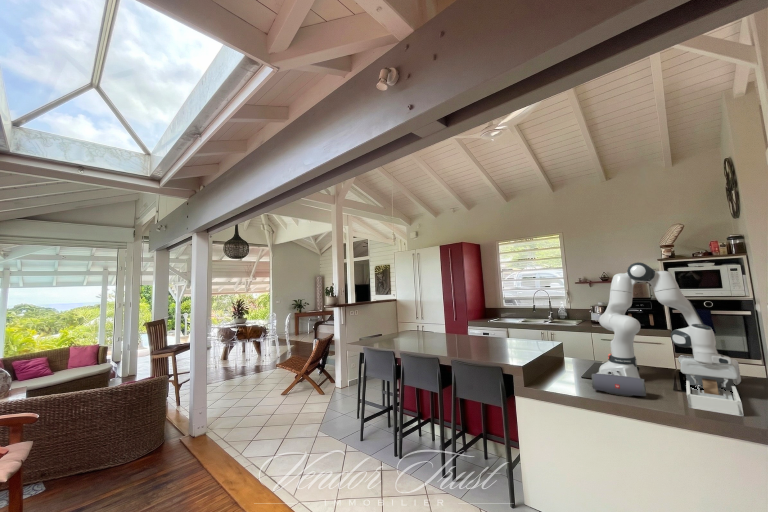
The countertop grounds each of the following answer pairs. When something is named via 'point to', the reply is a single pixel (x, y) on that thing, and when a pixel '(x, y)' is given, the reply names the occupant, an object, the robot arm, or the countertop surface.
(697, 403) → the white open box
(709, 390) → the brown wooden block
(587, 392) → the countertop surface
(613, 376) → the bluetooth speaker
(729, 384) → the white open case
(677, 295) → the robot arm
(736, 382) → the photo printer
